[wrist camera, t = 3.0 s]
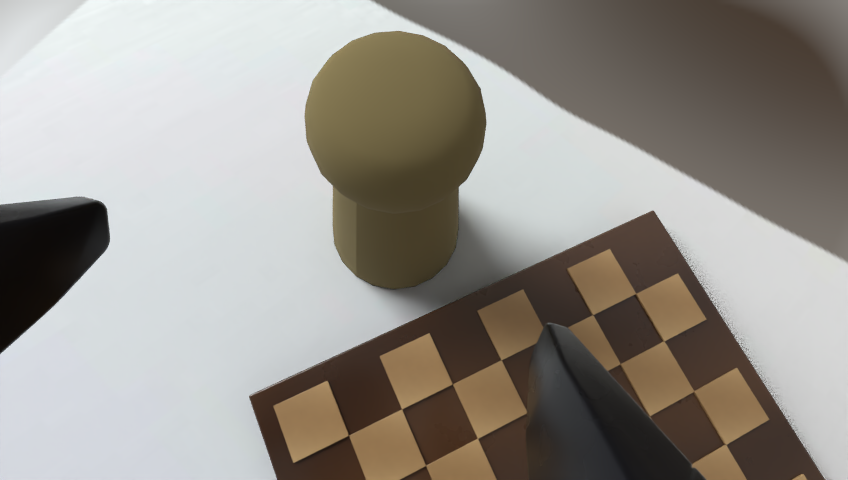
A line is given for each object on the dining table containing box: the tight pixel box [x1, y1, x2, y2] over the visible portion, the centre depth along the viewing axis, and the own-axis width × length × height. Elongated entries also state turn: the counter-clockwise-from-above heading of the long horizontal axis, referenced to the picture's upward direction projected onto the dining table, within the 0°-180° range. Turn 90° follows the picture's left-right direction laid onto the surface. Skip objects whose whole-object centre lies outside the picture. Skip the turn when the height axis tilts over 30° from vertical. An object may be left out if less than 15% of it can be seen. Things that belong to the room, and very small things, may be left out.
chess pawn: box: [305, 31, 486, 289], centre depth 17 cm, size 6×6×11 cm
